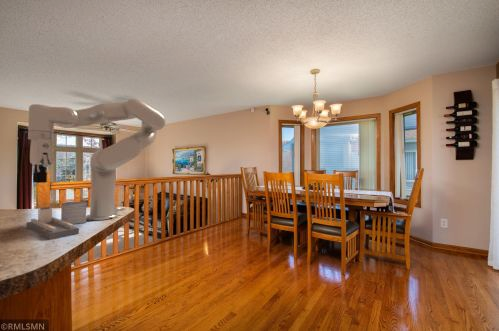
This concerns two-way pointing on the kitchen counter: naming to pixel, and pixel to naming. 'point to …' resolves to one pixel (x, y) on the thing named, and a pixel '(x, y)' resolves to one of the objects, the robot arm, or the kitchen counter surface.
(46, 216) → the fader tab
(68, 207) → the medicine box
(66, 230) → the console board
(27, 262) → the kitchen counter surface
